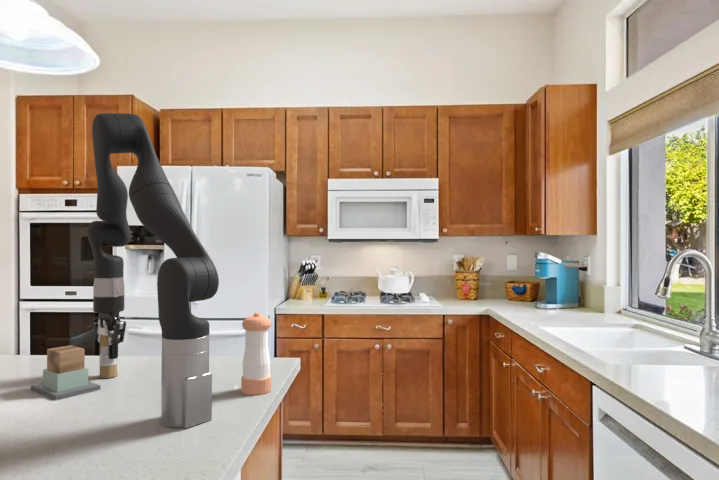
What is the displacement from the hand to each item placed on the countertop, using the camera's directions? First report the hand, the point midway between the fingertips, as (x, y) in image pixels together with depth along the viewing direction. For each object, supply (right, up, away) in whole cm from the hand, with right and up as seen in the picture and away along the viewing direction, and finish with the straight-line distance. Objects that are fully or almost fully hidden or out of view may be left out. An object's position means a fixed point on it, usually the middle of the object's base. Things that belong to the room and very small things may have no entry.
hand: (108, 356), depth 130 cm
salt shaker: (+43, -5, -12) cm, 45 cm away
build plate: (-5, -5, -11) cm, 13 cm away
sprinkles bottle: (0, -5, 0) cm, 5 cm away
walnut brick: (-5, 0, -11) cm, 12 cm away
